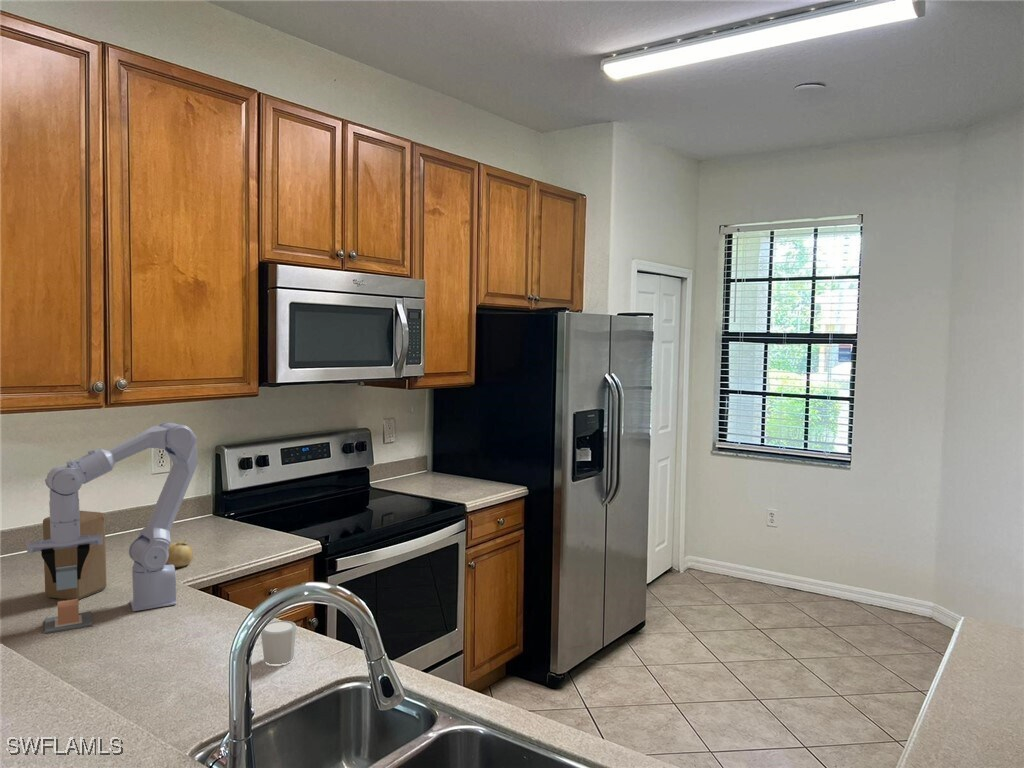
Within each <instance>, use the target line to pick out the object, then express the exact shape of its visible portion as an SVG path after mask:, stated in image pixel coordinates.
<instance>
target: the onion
mask: <svg viewBox="0 0 1024 768" xmlns="http://www.w3.org/2000/svg"><path fill="white" fill-rule="evenodd" d="M186 541H187V539H186V540H184V541H181V542H173V543H170V545H169V549H168V552H169V557H168V560H167V562H166V564H165V565H174V567H175V568H182V567H185V566H188V565H189V564H190V563H191V562H192V561H193V559H194V551H193V549H192V547H191V546H190V545H188V543H187V542H186Z"/></svg>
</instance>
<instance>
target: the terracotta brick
mask: <svg viewBox="0 0 1024 768" xmlns="http://www.w3.org/2000/svg"><path fill="white" fill-rule="evenodd" d="M79 607H80V606H79V600H78V599H73V600H61V601H57V616H58V625H62V624H68V623H74V622H79V613H80V609H79Z"/></svg>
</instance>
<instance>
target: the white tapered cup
mask: <svg viewBox="0 0 1024 768" xmlns="http://www.w3.org/2000/svg"><path fill="white" fill-rule="evenodd" d="M268 623H269V624H268ZM268 623H267V624H268V625H267V626H266V627H265V628H264V630H263V631H262V633H261V632H260V635H261V644H262V645H261V646H262V653H263V655H262V656H263V662H264V661H265V662H267V663H269V664H282V663H287V662H289V661H291V660H292V659H293V657H295V645H296V635H297V633H296V632H297V624H296V623H295V622H293V621H289V620H276V621H271V622H268ZM293 660H294V659H293Z"/></svg>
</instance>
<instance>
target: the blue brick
mask: <svg viewBox="0 0 1024 768" xmlns="http://www.w3.org/2000/svg"><path fill="white" fill-rule="evenodd" d="M56 586H57V590H64V589H71V588H78V587H77V565H74V566H66V567H59V568H56Z"/></svg>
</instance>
